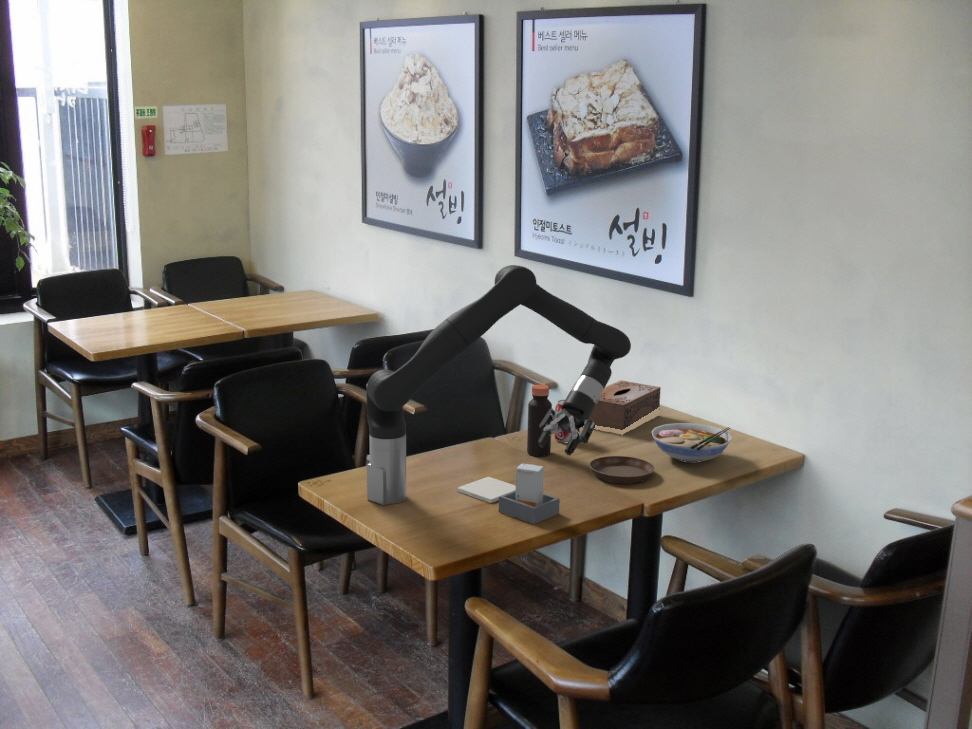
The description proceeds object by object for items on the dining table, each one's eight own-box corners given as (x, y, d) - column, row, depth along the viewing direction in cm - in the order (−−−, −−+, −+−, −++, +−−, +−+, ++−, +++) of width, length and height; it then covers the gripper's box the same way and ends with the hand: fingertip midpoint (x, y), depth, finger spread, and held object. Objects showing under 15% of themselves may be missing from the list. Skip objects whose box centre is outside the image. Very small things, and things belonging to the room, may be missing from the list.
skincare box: (514, 513, 268) (515, 467, 265) (520, 507, 272) (521, 462, 269) (537, 517, 266) (538, 471, 263) (543, 511, 270) (544, 466, 267)
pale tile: (490, 503, 275) (490, 499, 275) (457, 491, 283) (457, 487, 283) (521, 491, 284) (521, 487, 283) (488, 480, 291) (488, 476, 291)
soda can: (578, 444, 323) (579, 405, 320) (554, 443, 323) (555, 405, 320) (576, 437, 329) (578, 399, 326) (553, 436, 329) (554, 398, 327)
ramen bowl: (673, 440, 327) (674, 414, 325) (744, 456, 314) (746, 429, 312) (633, 462, 307) (635, 434, 306) (708, 479, 295) (710, 450, 293)
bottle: (555, 454, 313) (557, 387, 308) (536, 458, 309) (538, 391, 305) (541, 448, 319) (542, 382, 314) (522, 452, 315) (523, 385, 310)
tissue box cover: (622, 436, 332) (623, 404, 329) (581, 427, 340) (582, 397, 337) (659, 416, 352) (660, 387, 350) (619, 409, 360) (620, 380, 358)
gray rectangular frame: (534, 524, 262) (534, 508, 261) (498, 511, 270) (498, 496, 269) (559, 513, 269) (559, 498, 268) (523, 501, 276) (524, 486, 275)
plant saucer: (605, 461, 309) (605, 451, 308) (663, 472, 300) (664, 462, 299) (578, 479, 294) (578, 468, 293) (639, 491, 285) (639, 480, 285)
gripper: (555, 384, 280) (525, 435, 274) (599, 394, 271) (569, 448, 265) (567, 400, 285) (538, 451, 280) (611, 411, 276) (582, 464, 270)
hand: (553, 449), depth 272 cm, fingers open, 8 cm apart
